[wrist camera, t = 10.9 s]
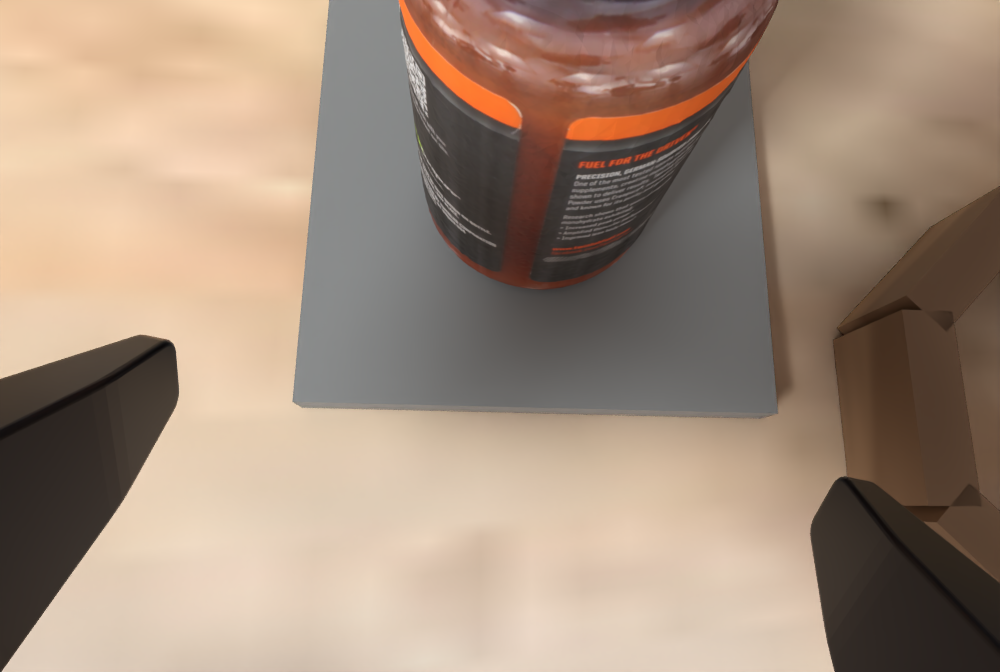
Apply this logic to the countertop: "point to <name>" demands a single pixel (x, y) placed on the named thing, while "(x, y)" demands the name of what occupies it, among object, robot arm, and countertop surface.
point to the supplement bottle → (563, 120)
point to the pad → (509, 309)
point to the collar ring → (922, 381)
